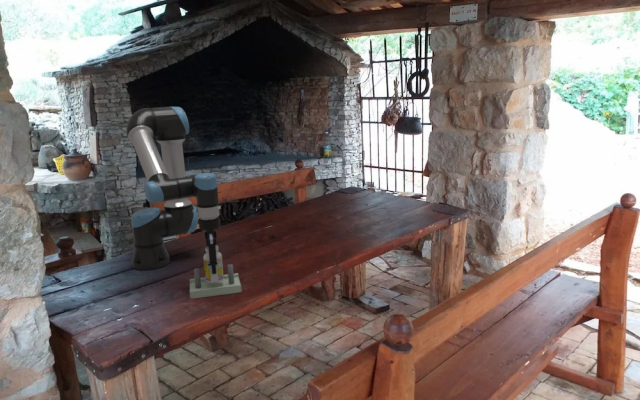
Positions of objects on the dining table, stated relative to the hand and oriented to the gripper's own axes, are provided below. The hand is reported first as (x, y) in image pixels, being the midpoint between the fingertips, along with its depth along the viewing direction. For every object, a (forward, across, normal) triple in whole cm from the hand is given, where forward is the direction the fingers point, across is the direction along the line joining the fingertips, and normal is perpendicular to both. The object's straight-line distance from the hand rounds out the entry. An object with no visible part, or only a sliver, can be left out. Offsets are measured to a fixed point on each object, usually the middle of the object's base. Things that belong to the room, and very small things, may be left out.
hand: (214, 277), depth 182 cm
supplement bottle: (+1, 0, 0) cm, 1 cm away
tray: (+4, 0, 0) cm, 4 cm away
